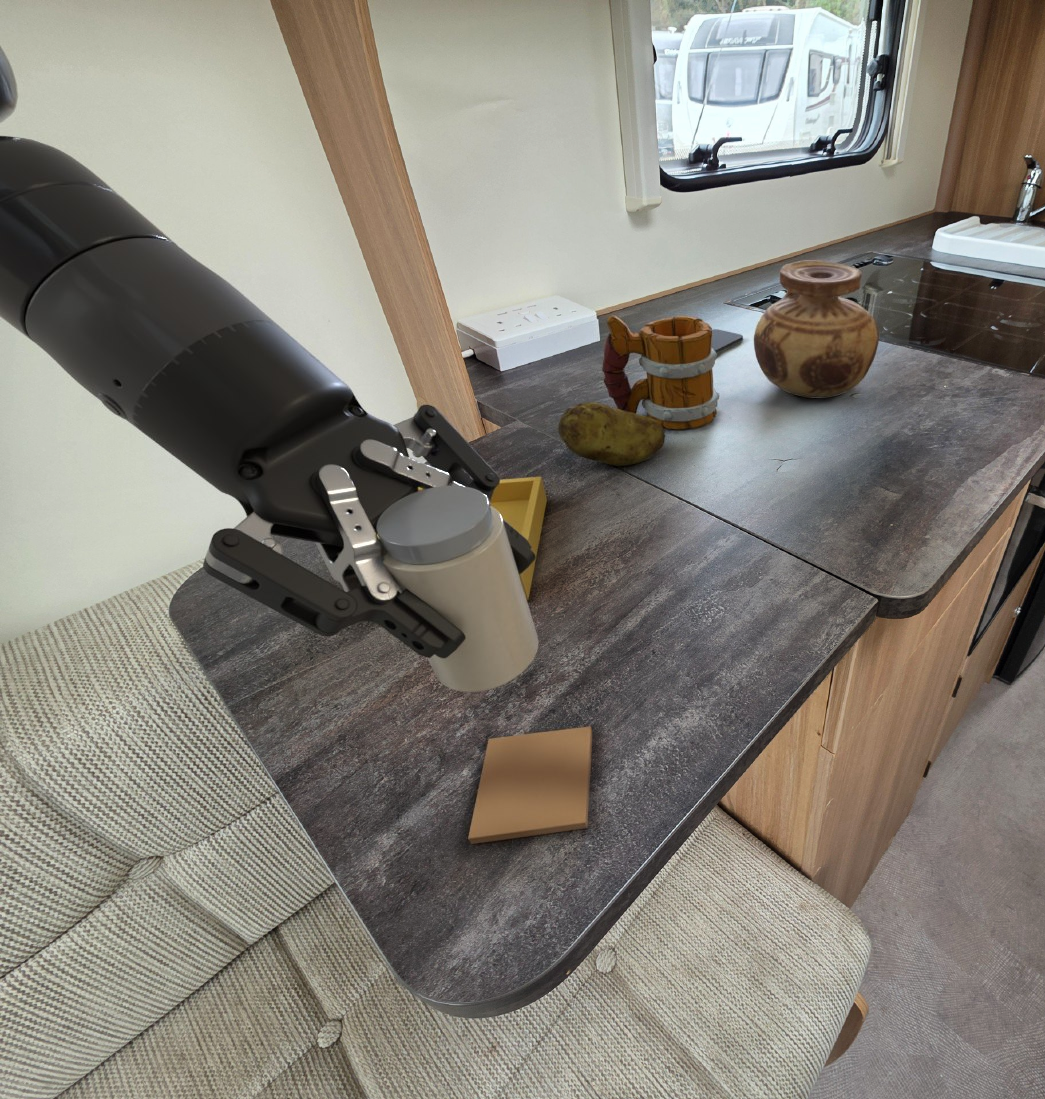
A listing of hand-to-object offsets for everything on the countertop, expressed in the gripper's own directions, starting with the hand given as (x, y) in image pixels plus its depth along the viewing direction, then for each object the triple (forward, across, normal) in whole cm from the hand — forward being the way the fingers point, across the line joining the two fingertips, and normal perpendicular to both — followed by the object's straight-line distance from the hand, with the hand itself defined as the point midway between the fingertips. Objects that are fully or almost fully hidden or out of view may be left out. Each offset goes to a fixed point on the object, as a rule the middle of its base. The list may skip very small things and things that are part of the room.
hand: (493, 604), depth 33 cm
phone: (0, +85, +23) cm, 88 cm away
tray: (-4, +21, +28) cm, 35 cm away
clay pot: (+16, +73, +8) cm, 75 cm away
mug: (+3, +56, +21) cm, 60 cm away
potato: (+2, +43, +22) cm, 48 cm away
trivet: (+11, -1, +13) cm, 17 cm away
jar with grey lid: (+2, 0, +4) cm, 5 cm away
